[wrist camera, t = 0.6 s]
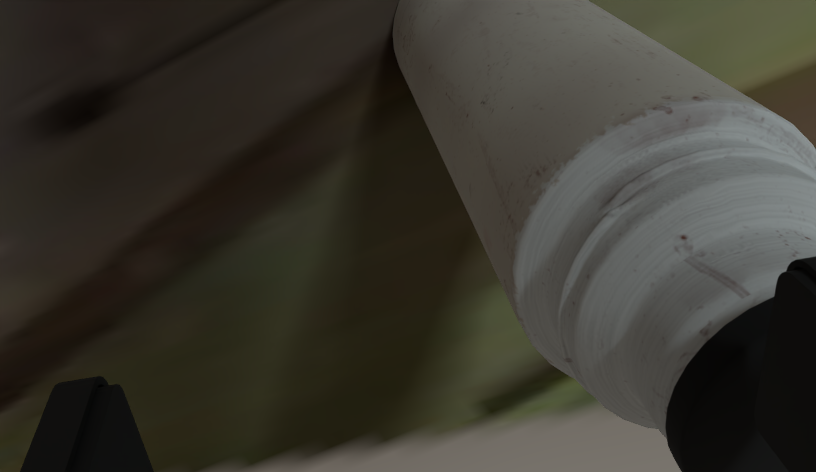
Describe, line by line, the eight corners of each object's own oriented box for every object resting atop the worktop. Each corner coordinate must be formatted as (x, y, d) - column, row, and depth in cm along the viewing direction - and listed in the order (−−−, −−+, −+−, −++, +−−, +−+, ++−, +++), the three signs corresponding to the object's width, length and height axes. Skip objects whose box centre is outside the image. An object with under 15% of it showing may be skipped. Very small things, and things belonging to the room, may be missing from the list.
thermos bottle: (569, 70, 39) (1037, 486, 15) (427, 133, 40) (656, 632, 15) (523, -83, 35) (1058, 143, 11) (366, -12, 36) (544, 355, 11)
